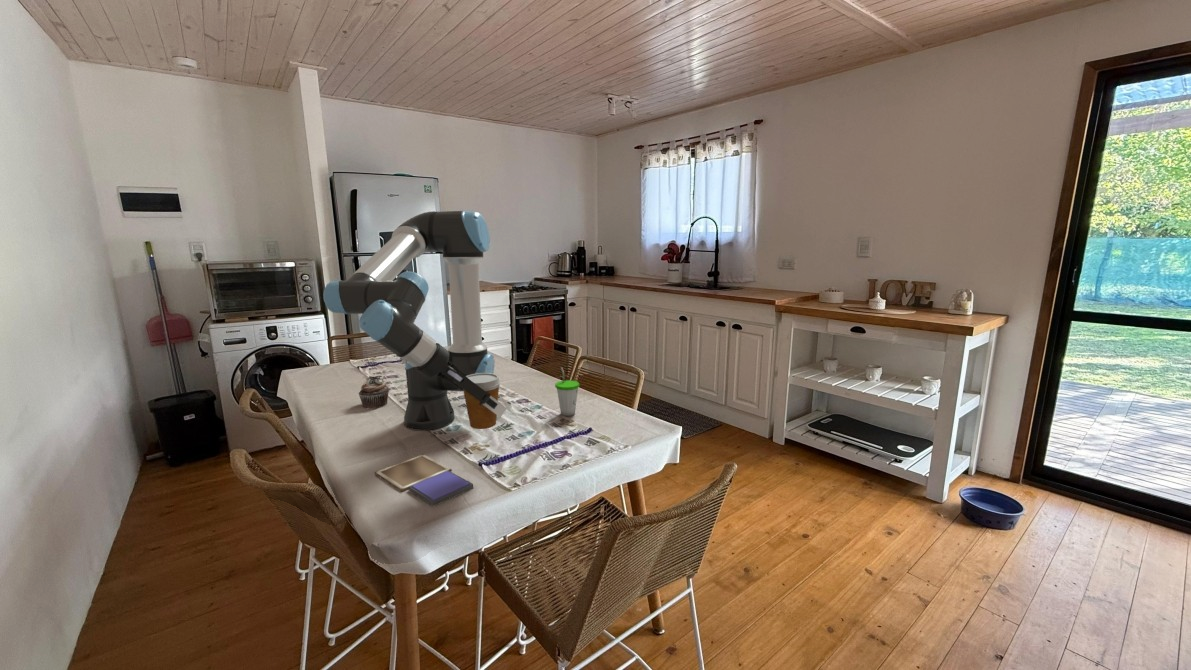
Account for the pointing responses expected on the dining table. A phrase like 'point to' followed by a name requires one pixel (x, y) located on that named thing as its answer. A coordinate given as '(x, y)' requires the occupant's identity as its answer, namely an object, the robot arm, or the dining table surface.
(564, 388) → the cup
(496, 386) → the disposable coffee cup
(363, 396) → the cupcake
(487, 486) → the dining table surface
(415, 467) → the brown square tray
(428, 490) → the ink pad
